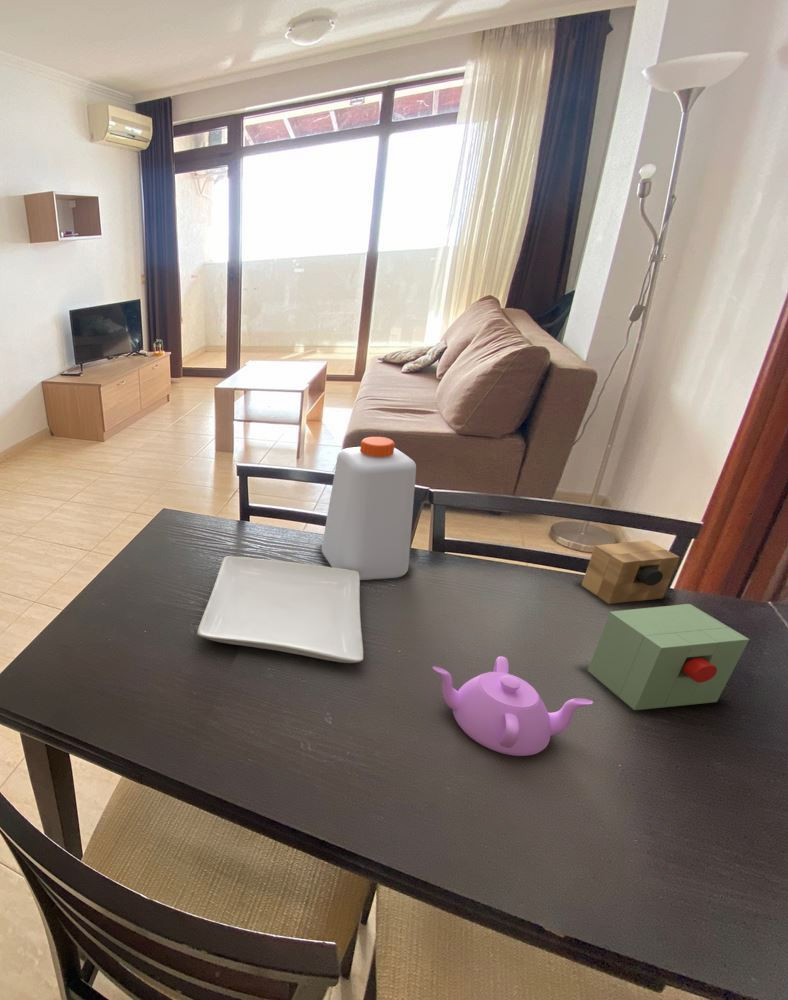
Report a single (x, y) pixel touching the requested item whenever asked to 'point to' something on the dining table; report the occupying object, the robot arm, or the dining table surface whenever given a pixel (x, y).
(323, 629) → the square plate
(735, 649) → the green box
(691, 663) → the red button
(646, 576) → the black button
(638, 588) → the wooden button box
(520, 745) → the teapot
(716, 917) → the dining table surface
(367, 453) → the plastic bottle
